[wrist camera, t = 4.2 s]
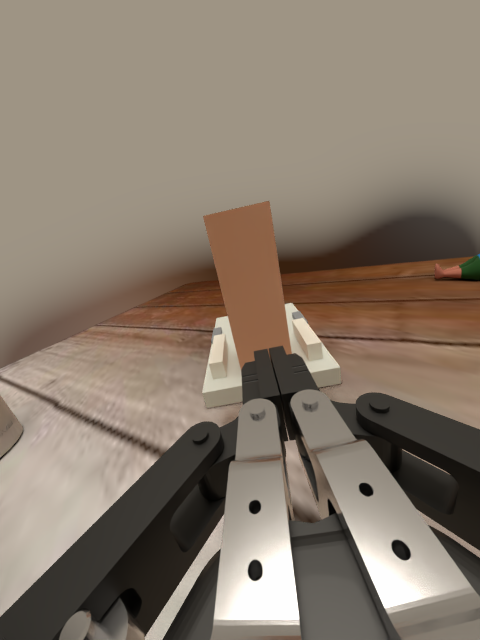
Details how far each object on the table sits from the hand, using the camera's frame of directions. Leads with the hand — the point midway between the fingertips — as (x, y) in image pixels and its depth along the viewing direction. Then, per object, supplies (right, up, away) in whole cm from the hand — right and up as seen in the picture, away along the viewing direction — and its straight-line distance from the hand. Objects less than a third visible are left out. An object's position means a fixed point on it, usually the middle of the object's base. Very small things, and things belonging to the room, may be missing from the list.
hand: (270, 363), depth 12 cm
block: (+1, -2, +16) cm, 16 cm away
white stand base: (+2, -2, +22) cm, 22 cm away
